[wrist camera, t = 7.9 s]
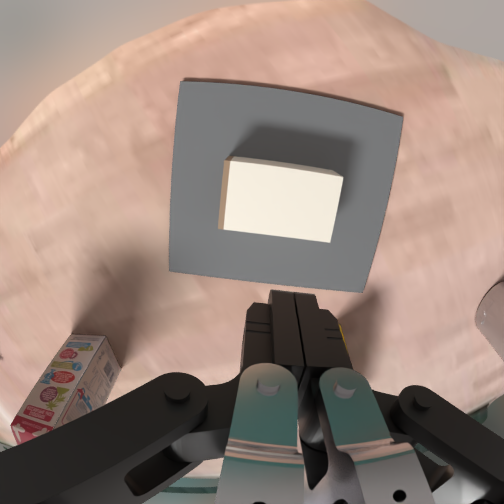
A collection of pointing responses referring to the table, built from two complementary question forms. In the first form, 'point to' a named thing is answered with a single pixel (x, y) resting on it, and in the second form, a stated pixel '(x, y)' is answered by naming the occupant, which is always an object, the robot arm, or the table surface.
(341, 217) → the mat
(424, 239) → the table surface
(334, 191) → the cream block
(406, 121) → the table surface
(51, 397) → the juice carton
